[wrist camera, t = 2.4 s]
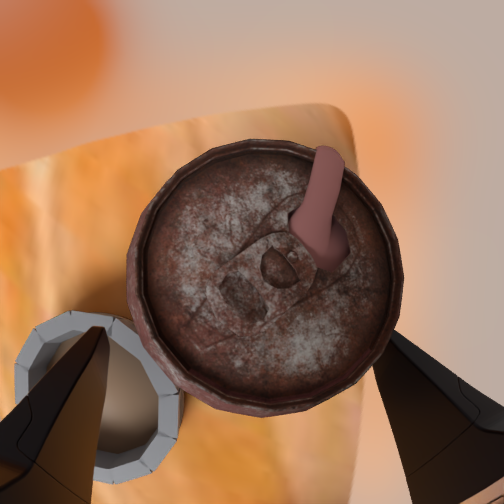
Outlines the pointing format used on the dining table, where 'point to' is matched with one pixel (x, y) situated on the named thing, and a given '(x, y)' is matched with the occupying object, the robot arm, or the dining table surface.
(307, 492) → the dining table surface
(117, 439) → the segmented gray ring
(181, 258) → the can
